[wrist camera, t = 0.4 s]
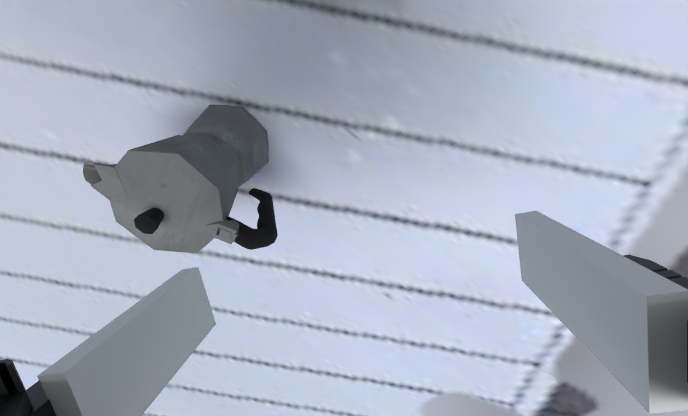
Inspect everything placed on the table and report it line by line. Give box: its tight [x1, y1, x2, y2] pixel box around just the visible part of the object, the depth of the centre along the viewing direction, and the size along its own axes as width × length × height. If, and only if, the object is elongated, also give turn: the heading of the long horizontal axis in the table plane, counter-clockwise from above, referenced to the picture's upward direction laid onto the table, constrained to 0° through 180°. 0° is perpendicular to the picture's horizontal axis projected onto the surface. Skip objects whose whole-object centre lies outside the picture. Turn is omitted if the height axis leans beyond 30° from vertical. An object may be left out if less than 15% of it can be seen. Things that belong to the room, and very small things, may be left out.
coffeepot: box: [83, 105, 277, 253], centre depth 32 cm, size 15×9×18 cm, turn 64°
